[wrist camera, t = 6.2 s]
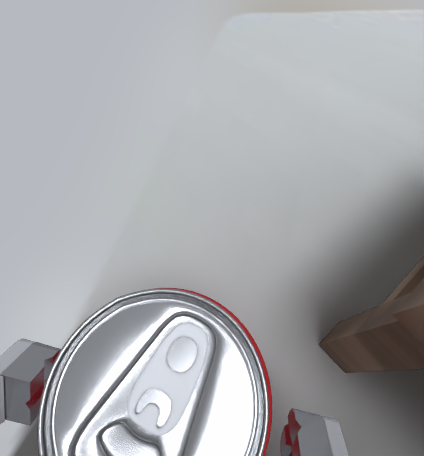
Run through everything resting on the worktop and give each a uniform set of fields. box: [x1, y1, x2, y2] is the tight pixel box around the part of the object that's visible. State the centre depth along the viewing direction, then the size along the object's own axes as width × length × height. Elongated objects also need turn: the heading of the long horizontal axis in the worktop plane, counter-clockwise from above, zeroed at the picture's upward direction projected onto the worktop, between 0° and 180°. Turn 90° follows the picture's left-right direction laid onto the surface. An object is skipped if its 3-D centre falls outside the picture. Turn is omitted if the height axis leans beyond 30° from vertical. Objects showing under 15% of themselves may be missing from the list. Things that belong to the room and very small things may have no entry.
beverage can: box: [37, 288, 272, 456], centre depth 12 cm, size 5×5×12 cm
